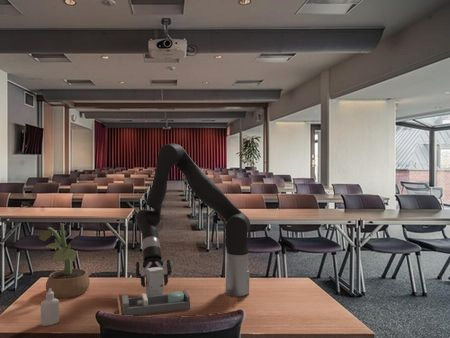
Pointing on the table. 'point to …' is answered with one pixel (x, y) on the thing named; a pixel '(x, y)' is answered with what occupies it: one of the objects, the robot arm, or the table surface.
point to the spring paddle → (143, 300)
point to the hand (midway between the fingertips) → (155, 285)
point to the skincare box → (154, 281)
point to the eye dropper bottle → (49, 309)
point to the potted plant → (65, 269)
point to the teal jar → (175, 297)
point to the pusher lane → (153, 304)
